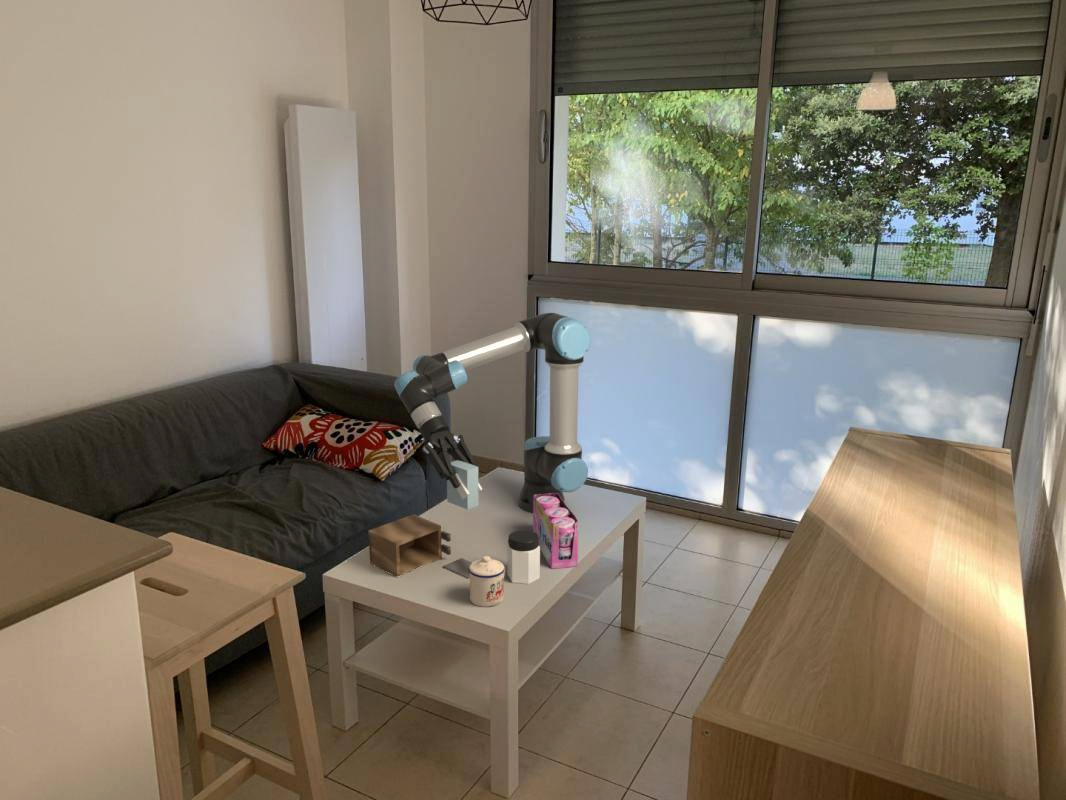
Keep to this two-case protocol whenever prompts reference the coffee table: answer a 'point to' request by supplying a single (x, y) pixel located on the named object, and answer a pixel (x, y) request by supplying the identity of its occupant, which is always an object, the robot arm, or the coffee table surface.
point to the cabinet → (411, 546)
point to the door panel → (470, 481)
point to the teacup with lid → (486, 582)
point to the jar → (523, 557)
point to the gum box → (556, 530)
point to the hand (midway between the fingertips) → (472, 494)
